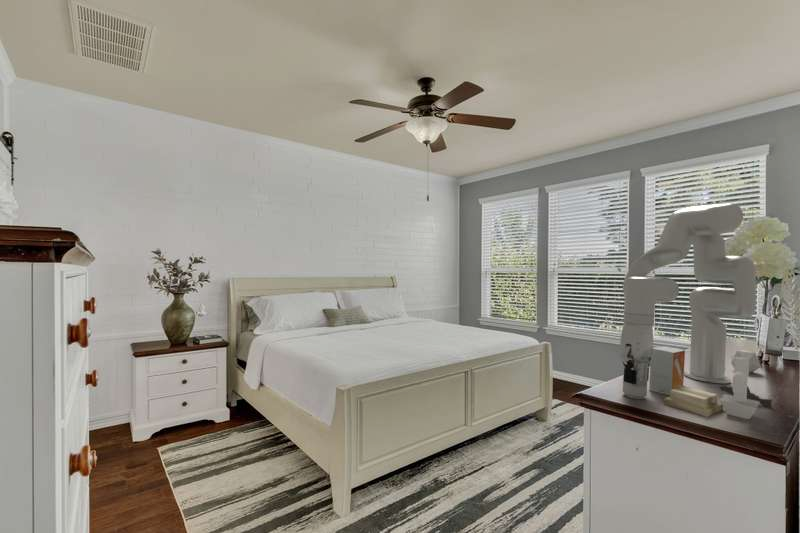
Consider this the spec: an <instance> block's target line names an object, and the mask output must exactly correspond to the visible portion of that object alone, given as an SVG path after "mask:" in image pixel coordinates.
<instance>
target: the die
mask: <svg viewBox="0 0 800 533" xmlns="http://www.w3.org/2000/svg"><path fill="white" fill-rule="evenodd" d="M734 357H744V358H749V374H750V373H751V374H752V373H754V372H756V371H757V370H759V369H760V368H761V364H760V359H759V357H758V356H757V354H756V352H752V351H749V350H746V349H742V350H741V349H740V350H737V351H735V352H734V353H732V354H731V355H729V358H730V363H731V365H732V367H733V368H734V370H735V364H734Z"/></svg>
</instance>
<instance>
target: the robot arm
mask: <svg viewBox="0 0 800 533" xmlns="http://www.w3.org/2000/svg"><path fill="white" fill-rule="evenodd" d="M743 213H744V212H743V209H742V208H741V206H739V205H738V204H736V203H723V204H721V203H720V204H710V205H697V206H689V207H686V208H685V207H684V208H682V209H679V210H676V211H674V212H672V213H671V214H670V215H669V217H668V218H667V221H666V223H665V225H664V227H663V229H662V232H661V234H660V236H659V239H658V241H657V243H656V245H655V247H653V248H651V249H649V250H648V251H647V252H645V253H644V254H642V255H640V257H638V258H637V259H636V260H634V261H633V262H632V263H631V265H630V267H628V268H629V269H628V271H627V273H626V275H625V277H624V280H623V283H622V284H623V285H622V292H623V294H624V303H623V304H624V305H623V307H624V308H623V326H622V330H621V334H620V343H619V357H620V360H621V361H622V364H623V371H624V382H627V383H631V384H636V377H637V370H635V368H636V364H637V360H640V359H641V358H642V355H643V353H644V351H648V352H649V353H648V376H647V382H649V379H650V362H651V356H652V354H653V348H654V332H653V331H654V330H653V329H654V328H653V327H655V314H656V313H655V312H656V310H655V309H656V303H662V304H663V303H671V302H673V301H674V300H676V299H677V298H678V296H679V294H680V288H679V287H680V286H679V284H678V283H677V282H676V281H675V280H674V279H673V278H670V277H665V276H653V275H652V276H650V275H649V276H648V274H650V273H651V272H652V271H655V270H656V269H659V268H661V267H662V268H663V267H665V266H669V265H672V264H675V263H677V262H680V261H683V260H684V259H685V258H686V257H687V256H688V254H689V251H690V249H691V246H692V247H693V248H692V250H693V251H692V252H693V274H694V278H695V280H696V281H697V282H699V283H704V284H713V285H714V284H715V285H729V286H730V285H731V286H732V288H730V287H729V288H728V287H718V286H700V287H696V288H694V289H692V291H690V293H689V295H688V296H689V297H688V302H689V309H690V314H691V315H690V316H691V328H690V329H691V330H690V332H691V333H690V351H689V352H690V353H689V354H690V356H689V369H686V370H684V377H687V378H689V379H693V380H695V381H701V382H705V383H711V384H730V383H731V378H730V377H729V376H726V374H725V373H726V372H725V371H726V351H727V350H726V348H727V326H726V325H725V323H724V321H722V320H721V319H722V318H720V317H725V318H727V317H728V318H734V319H735V318H736V319H749V318H751V317H753V315H754V314H755V313H756V308H757V280H756V279H757V276H756V275H757V274H756V271H757V270H756V267H755V263H754V262H753V260H752V259H751V258H749V257H748V256H745V255H743V256H742V255H727V254H726V241H725V239H724V237H723V236H722V234H727V233H729V232H730V233H731V232H732V231H735V230H737V229H739V228H740V226H741V225H742V223H743V220H744V214H743ZM629 356H633V358H634V359H633V358H628V357H629ZM629 360H630V361H633V363H631V362H630V361H629Z"/></svg>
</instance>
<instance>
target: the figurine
mask: <svg viewBox="0 0 800 533" xmlns="http://www.w3.org/2000/svg"><path fill="white" fill-rule="evenodd" d="M734 364H735V369H734V373H733V376H732V387H733V393H734V396H731V395H728V394H727V393H723V395H722V396H721V398H719V401H720V404H722V405H723V409H724V411H725V413H726V415H730V416H734V417H737V418H742V419H747V420H750V419H751V418H752V416H753V415H754V414H755V412H756V411H757V410H758V407H759V405H760V404H761V403H760V401H755V400H750V399H747V386H748V377H749V375H750V373H749V358H744V357H734Z"/></svg>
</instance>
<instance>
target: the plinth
mask: <svg viewBox="0 0 800 533" xmlns="http://www.w3.org/2000/svg"><path fill="white" fill-rule="evenodd" d="M718 396H719V395H718V394H717V393H713V392H709V391H704V390H701V389H699V388H698V389H697V388H693V387H689V386H685V385H683V386H682V387H678V388H675V389H672V390H670V396H668V397H665V398H663V404H664V405H666V406H669V407H673V408H677V409H679V410H682V411H683V410H684V411H687V412H690V413H693V414H697V415H700V416H703V417H710V416H712V415H714V414H716V413H719V412H721V411H724V410H723V409H724V407H723V405H722V403H721V402H718Z"/></svg>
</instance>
